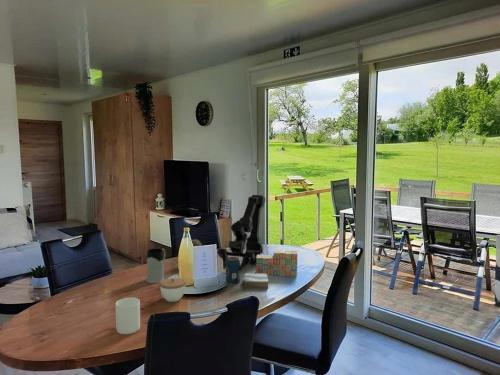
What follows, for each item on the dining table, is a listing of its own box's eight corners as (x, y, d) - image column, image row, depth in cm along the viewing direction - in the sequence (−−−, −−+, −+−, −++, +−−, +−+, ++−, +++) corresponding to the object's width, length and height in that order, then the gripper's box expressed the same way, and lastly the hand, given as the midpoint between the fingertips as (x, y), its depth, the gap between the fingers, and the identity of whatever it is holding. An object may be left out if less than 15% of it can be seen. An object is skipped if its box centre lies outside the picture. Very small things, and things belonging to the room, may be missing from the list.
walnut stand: (244, 280, 186) (244, 273, 185) (266, 280, 186) (266, 273, 186) (244, 288, 175) (244, 281, 175) (268, 288, 175) (268, 281, 175)
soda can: (224, 280, 185) (224, 256, 184) (238, 279, 187) (238, 256, 186) (227, 285, 179) (227, 261, 177) (241, 284, 180) (241, 260, 179)
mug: (106, 326, 136) (105, 299, 135) (127, 318, 143) (126, 293, 142) (124, 337, 129) (123, 309, 127) (144, 329, 135) (144, 301, 134)
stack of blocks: (255, 275, 194) (256, 252, 192) (256, 271, 200) (256, 249, 199) (297, 276, 192) (297, 253, 190) (296, 272, 198) (297, 250, 197)
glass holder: (143, 281, 182) (142, 252, 181) (157, 272, 196) (157, 244, 194) (159, 283, 180) (158, 253, 178) (172, 274, 193) (172, 246, 192)
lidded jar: (182, 293, 169) (182, 273, 168) (187, 302, 159) (187, 280, 158) (158, 296, 165) (158, 275, 164) (162, 305, 155) (161, 284, 154)
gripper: (218, 232, 187) (209, 259, 178) (253, 235, 181) (246, 264, 172) (224, 244, 195) (216, 270, 186) (258, 247, 189) (251, 275, 180)
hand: (231, 269), depth 181 cm, fingers open, 8 cm apart
